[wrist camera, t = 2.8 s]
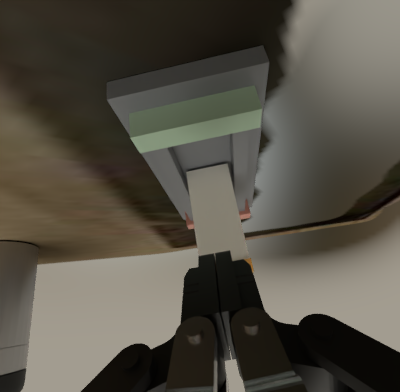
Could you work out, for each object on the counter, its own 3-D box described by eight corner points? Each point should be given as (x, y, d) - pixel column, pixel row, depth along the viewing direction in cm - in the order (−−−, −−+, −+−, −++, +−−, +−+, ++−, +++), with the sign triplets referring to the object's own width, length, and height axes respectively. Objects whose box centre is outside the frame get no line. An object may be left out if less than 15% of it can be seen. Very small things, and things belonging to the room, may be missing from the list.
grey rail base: (249, 197, 38) (255, 219, 36) (182, 210, 38) (185, 233, 37) (262, 45, 16) (278, 86, 14) (106, 82, 16) (107, 125, 15)
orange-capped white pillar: (229, 182, 28) (251, 276, 24) (192, 189, 28) (207, 284, 24) (228, 162, 24) (253, 271, 20) (184, 171, 24) (201, 280, 20)
